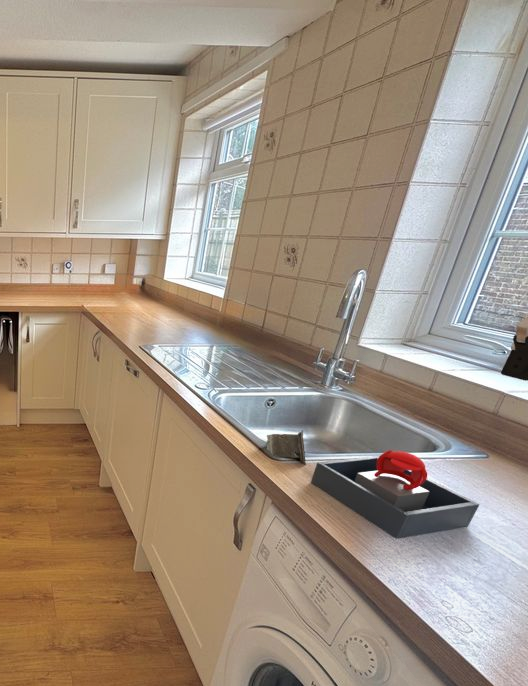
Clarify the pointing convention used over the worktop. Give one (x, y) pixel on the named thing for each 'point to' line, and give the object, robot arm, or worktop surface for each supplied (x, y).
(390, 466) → the red curved piece
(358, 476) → the block
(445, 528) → the dark grey tray
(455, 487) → the worktop surface
